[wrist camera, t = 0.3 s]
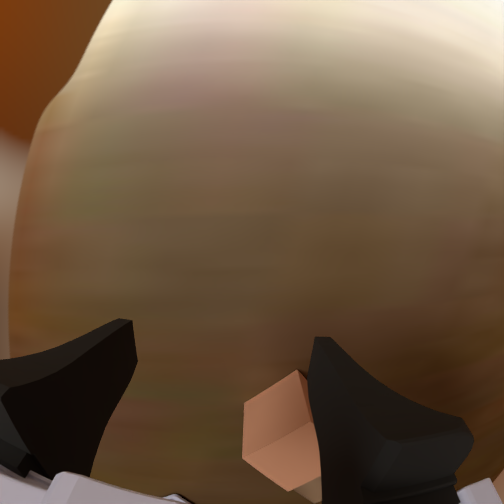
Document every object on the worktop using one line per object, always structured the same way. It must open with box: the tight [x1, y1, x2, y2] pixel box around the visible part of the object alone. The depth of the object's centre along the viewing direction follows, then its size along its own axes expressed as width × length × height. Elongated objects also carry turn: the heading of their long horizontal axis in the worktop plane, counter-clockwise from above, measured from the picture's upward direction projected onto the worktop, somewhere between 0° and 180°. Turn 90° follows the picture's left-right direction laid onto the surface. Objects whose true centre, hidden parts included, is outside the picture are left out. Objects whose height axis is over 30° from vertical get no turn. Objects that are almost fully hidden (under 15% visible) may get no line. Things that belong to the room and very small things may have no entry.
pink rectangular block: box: [242, 370, 321, 491], centre depth 20 cm, size 5×5×7 cm
